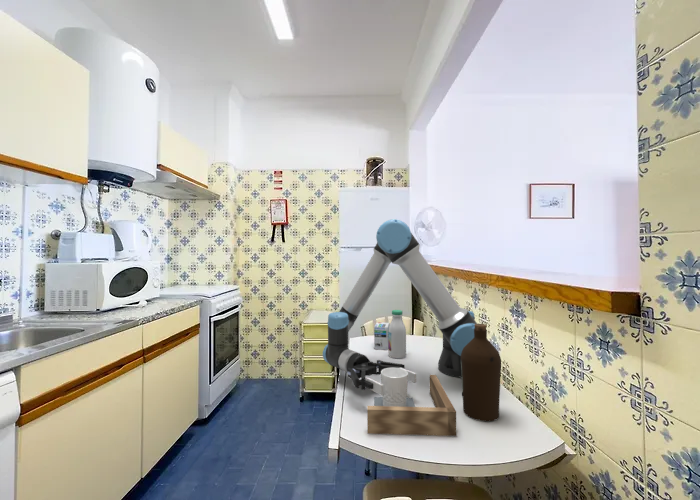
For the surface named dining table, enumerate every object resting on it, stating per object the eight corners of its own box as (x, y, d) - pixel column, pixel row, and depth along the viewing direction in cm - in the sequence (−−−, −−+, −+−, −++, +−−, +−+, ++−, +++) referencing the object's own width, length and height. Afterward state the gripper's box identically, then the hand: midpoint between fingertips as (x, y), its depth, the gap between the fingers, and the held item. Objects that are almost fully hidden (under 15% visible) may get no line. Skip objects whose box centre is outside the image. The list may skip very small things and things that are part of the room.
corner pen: (435, 393, 103) (435, 374, 103) (456, 436, 79) (456, 411, 79) (367, 391, 105) (367, 373, 105) (367, 433, 81) (367, 409, 81)
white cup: (401, 415, 89) (401, 379, 89) (376, 408, 93) (376, 373, 93) (412, 404, 95) (412, 370, 95) (387, 397, 100) (387, 365, 100)
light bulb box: (388, 350, 149) (388, 327, 149) (373, 349, 151) (373, 326, 151) (390, 343, 160) (389, 322, 160) (376, 343, 161) (376, 321, 161)
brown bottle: (507, 413, 90) (507, 324, 91) (491, 427, 83) (491, 331, 83) (471, 400, 98) (471, 319, 98) (453, 412, 91) (453, 324, 91)
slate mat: (412, 398, 100) (412, 397, 100) (418, 418, 88) (418, 417, 88) (373, 397, 100) (373, 396, 100) (374, 417, 88) (374, 416, 88)
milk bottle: (408, 355, 142) (408, 310, 142) (401, 360, 135) (401, 312, 136) (392, 352, 146) (392, 308, 146) (385, 357, 140) (385, 311, 140)
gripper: (381, 366, 117) (427, 385, 100) (323, 383, 102) (366, 409, 85) (381, 346, 117) (427, 361, 100) (323, 360, 102) (366, 381, 85)
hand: (399, 383), depth 92 cm, fingers open, 13 cm apart
